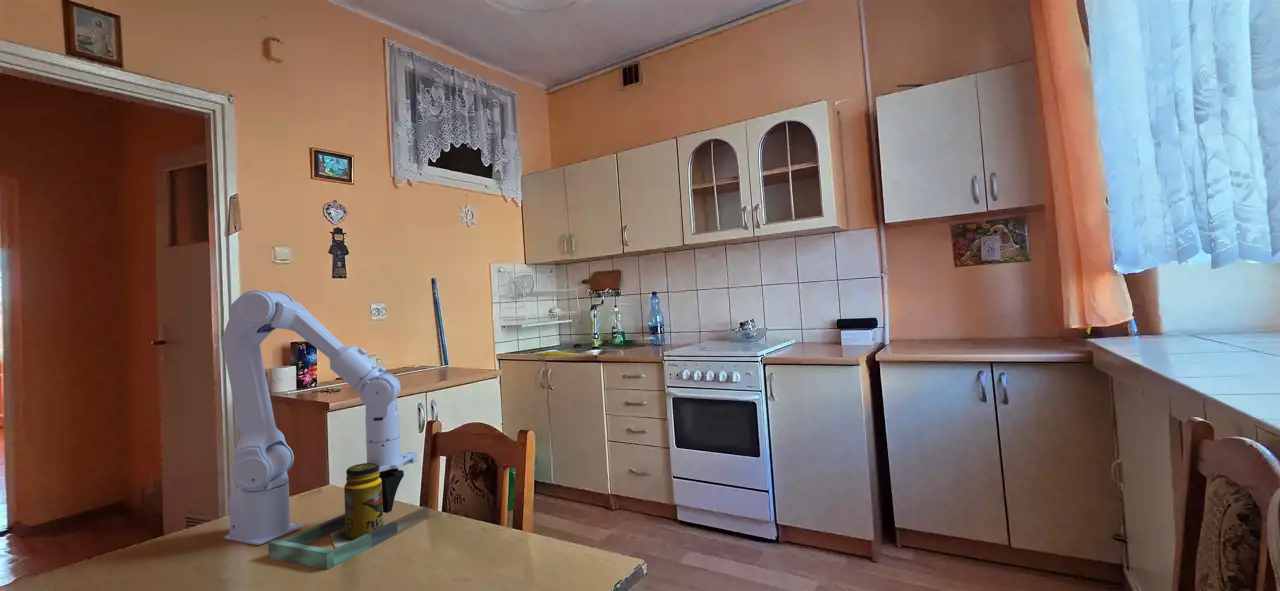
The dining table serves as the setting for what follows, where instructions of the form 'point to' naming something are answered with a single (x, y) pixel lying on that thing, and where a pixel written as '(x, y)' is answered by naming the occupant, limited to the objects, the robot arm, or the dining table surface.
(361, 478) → the condiment
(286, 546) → the u-shaped frame
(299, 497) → the dining table surface
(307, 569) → the dining table surface
